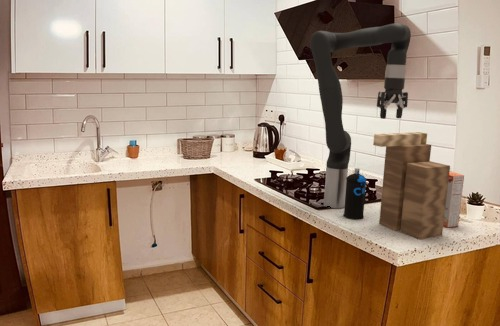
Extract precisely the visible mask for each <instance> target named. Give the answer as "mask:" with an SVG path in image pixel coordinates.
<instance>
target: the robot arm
mask: <svg viewBox="0 0 500 326" xmlns="http://www.w3.org/2000/svg"><path fill="white" fill-rule="evenodd" d="M411 33H412V32H411V28H410V27H409V26H408V25H406V24H403V23H401V22H400V23H399V22H395V23H389V24H386V25H382V26H374V27H366V28H365V27H364V28H360V29H356V30H354V31H349V32H331V31H327V30H318V31H317V30H316V31H315V32H314V33H312V35H311V36H310V37H311V38H310V40H309V41H310V42H309V43H310V45H309V46H310V50H311V54H312V57H313V61H314V64H315V70H316V71H315V72H316V77H317V85H318V90H319V98H320V102H321V103H320V104H321V109H322V110H321V111H322V114H323V119H324V125H325V126H324V127H325V128H324V129H325V142H326V147H327V149H328V150H329V153H328V157H327V160H326V167H325V168H326V169H325V170H326V171H325V183H324V194H323V195H324V196H323V207H327V206H330V207H331V209H342V208H344V207H345V194H346V181H347V180H346V178H347V177H348V171H349V170H348V169H349V163H350V160H351V159H350V158H351V152H352V150H351V149H352V137H351V134H350V133H349V132H348V131H346V130H345V129H344V123H343V117H342V115H343V103H344V101H343V92H342V91H343V90H342V87H341V86H342V84H341V81H340V79H339V76H338V75H337V72H336V69H335V68H334V65H333V61H332V55H331V53H333V52H336V51H337V52H338V51H340V50H344V49H350V48H363V47H373V46H380V45H383V44H391V48H390V50H389V51H388V52H387V59H386V60H387V61H386V67H385V74H384V85H383V88H384V89H385V90H384V91H378V92H377V93H378V94H377V100H376V107H377V108H380V111H379V112H380V113H379V117H380V119H386V118H387V108H388V106H390V105H391V104H394V105H396V111H395V112H396V113H395V118H396V119H402V116H403V110H404V108H407V107H408V102H409V101H408V100H409V99H408V98H409V93H408V92H407V91H403V90H404V89H405V84H406V83H405V80H406V71H407V70H406V69H407V68H406V65H407V64H406V63H407V53H408V50H409V46H410V42H411V38H412V37H411V36H412V34H411ZM330 207H329V208H330Z"/></svg>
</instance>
